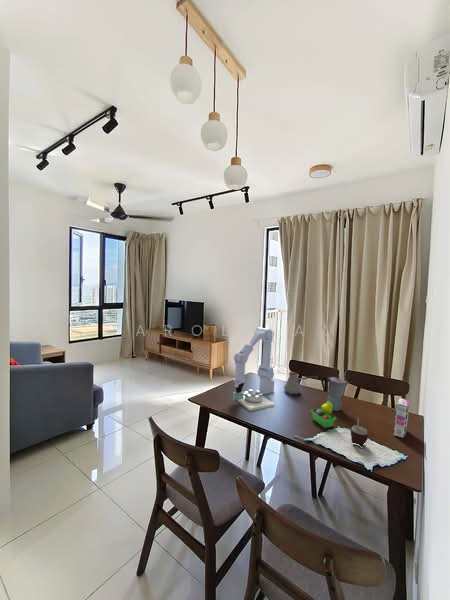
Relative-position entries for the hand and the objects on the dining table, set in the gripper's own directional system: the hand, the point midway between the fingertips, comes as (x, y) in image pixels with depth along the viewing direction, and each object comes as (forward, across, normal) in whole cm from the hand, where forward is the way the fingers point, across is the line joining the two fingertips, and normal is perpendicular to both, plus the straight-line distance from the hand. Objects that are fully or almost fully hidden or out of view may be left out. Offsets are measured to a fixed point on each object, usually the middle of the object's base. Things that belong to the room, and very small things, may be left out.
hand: (238, 394), depth 159 cm
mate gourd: (+4, +21, +63) cm, 66 cm away
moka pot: (+4, -16, +55) cm, 57 cm away
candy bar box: (+4, 0, +85) cm, 85 cm away
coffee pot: (+5, -29, +35) cm, 46 cm away
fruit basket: (+4, +6, +48) cm, 49 cm away
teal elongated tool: (+2, -2, +5) cm, 6 cm away
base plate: (+4, -4, +8) cm, 10 cm away
